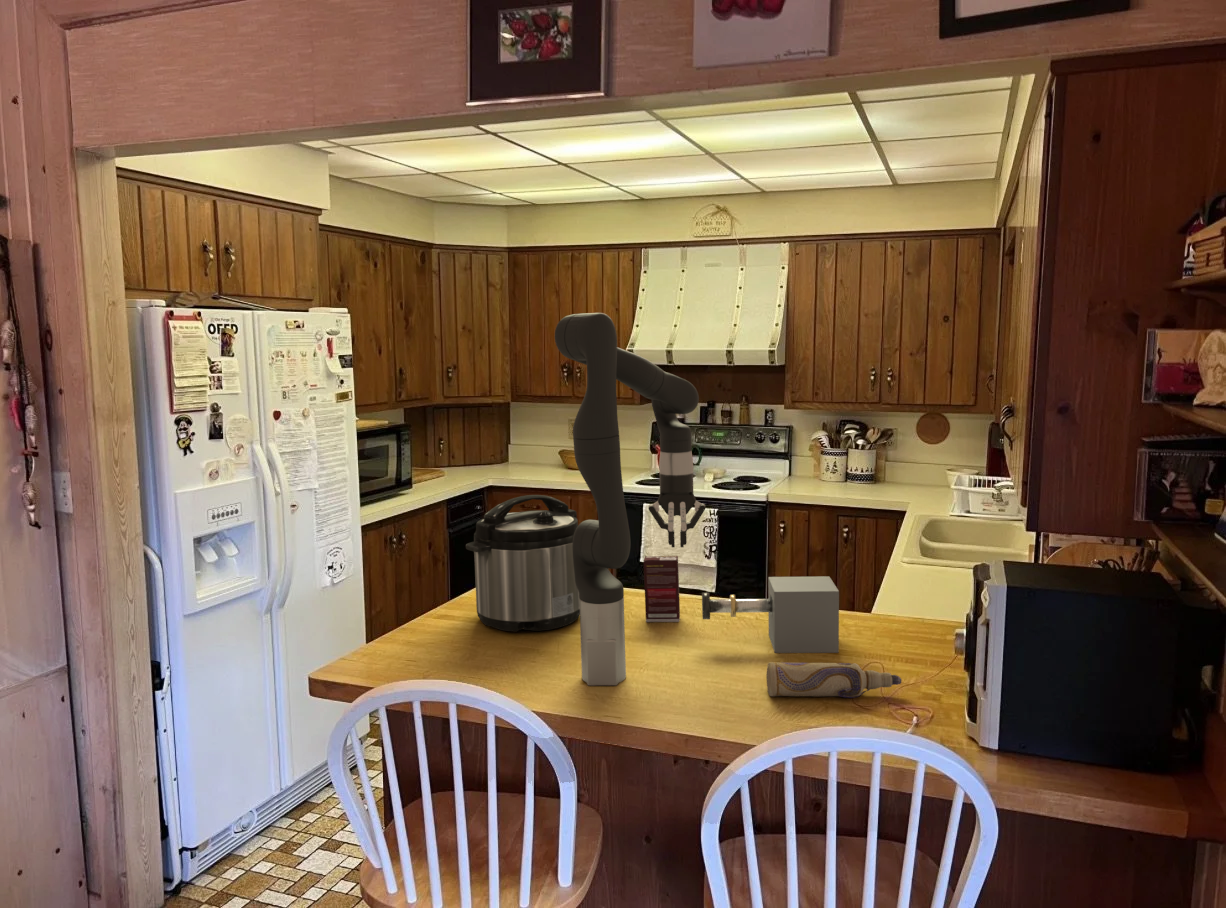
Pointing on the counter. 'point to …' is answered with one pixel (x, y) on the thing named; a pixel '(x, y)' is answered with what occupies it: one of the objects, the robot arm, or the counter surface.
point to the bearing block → (804, 614)
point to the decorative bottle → (824, 679)
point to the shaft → (733, 605)
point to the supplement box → (661, 589)
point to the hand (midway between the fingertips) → (677, 546)
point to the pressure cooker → (526, 566)
